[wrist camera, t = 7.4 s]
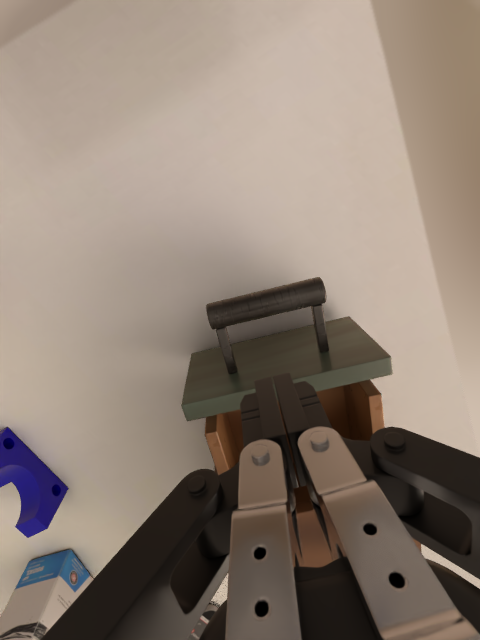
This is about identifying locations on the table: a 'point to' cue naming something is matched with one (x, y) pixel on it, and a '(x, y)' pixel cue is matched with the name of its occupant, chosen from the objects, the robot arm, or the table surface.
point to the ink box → (43, 595)
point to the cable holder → (29, 484)
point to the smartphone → (203, 622)
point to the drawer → (285, 369)
